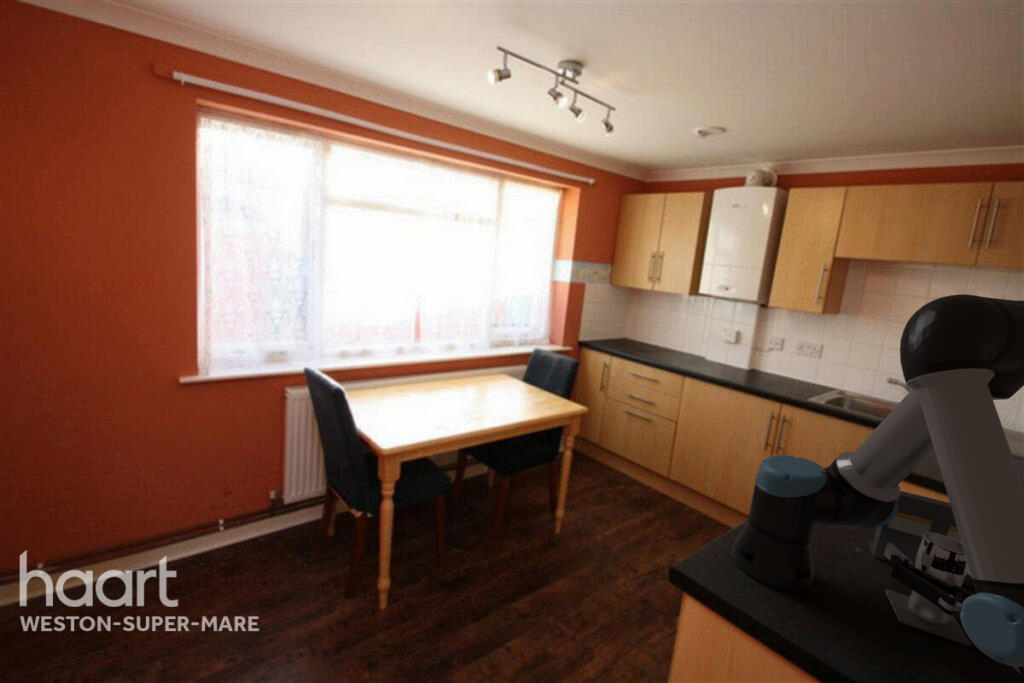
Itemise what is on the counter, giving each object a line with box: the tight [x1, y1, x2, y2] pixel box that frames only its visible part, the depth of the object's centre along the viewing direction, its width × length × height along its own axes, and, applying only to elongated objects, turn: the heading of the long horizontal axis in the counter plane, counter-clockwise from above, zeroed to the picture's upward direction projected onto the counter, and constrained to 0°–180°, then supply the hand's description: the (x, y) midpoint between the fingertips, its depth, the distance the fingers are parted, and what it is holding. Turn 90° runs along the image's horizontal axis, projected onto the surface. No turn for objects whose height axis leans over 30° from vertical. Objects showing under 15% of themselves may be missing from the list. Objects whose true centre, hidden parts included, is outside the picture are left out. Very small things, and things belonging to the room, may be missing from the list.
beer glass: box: [906, 532, 968, 627], centre depth 87 cm, size 7×7×15 cm
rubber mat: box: [884, 588, 972, 647], centre depth 88 cm, size 10×10×1 cm
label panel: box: [868, 490, 974, 588], centre depth 104 cm, size 19×6×16 cm, turn 64°
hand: (927, 556), depth 90 cm, fingers open, 13 cm apart
